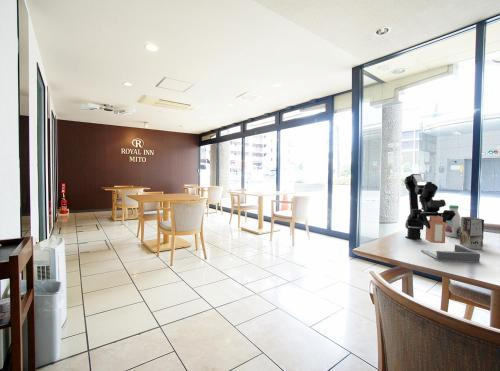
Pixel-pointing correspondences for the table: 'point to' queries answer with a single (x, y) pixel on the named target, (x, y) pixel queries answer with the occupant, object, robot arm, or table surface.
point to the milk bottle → (453, 223)
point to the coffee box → (472, 232)
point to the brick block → (436, 230)
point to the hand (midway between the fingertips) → (436, 228)
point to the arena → (455, 255)
